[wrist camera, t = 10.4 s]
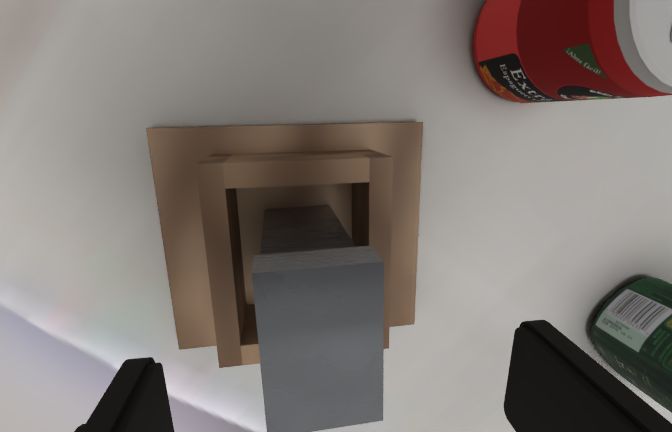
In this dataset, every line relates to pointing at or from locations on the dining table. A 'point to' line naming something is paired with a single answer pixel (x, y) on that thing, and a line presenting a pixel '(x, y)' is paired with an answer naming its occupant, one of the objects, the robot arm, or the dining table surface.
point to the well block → (278, 192)
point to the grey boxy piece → (318, 322)
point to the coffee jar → (639, 336)
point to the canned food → (574, 49)
